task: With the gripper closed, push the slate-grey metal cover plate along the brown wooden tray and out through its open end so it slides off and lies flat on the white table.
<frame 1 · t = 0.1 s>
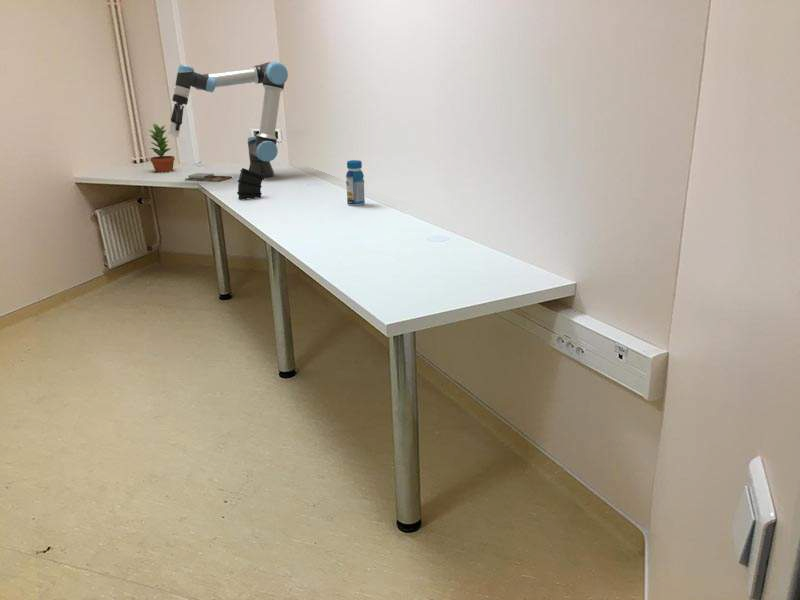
hand: (173, 135, 331), 28 cm above the table, tool tilted 20°, fingers open, 13 cm apart
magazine: (252, 198, 310), on the table
beverage bottle: (356, 204, 291), on the table
potted plant: (165, 171, 396), on the table
brown wooden tray: (208, 180, 359), on the table
cover plate: (201, 178, 360), point 1 cm above the table, touching brown wooden tray
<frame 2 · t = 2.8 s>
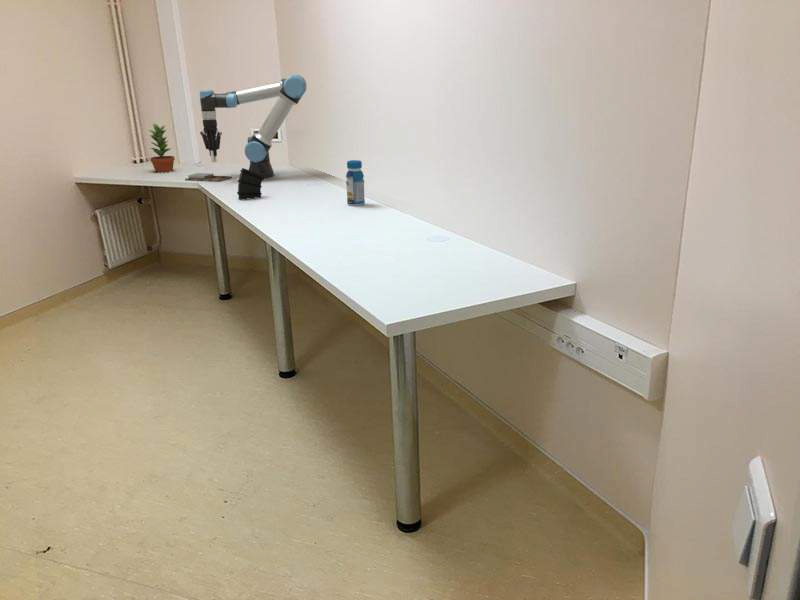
hand: (214, 162, 354), 11 cm above the table, tool pointing down, fingers closed
nothing on the table moved.
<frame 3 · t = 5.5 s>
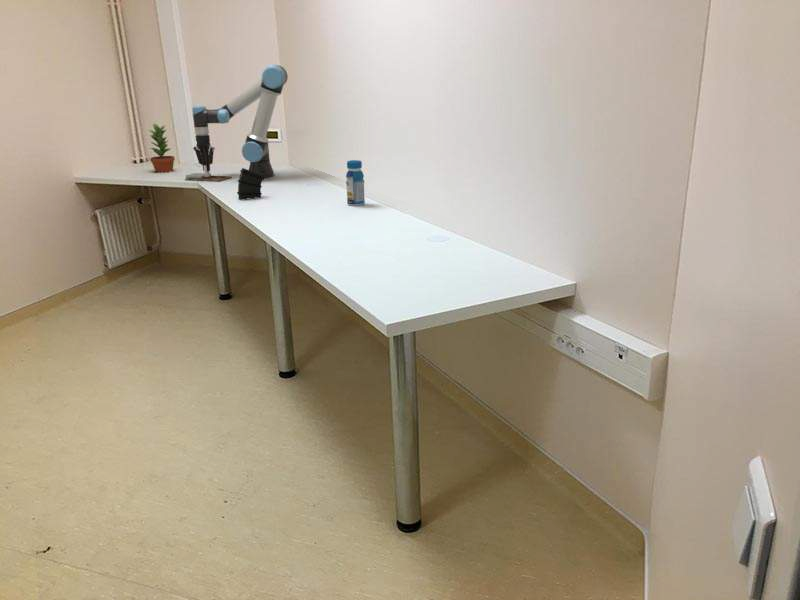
hand: (207, 176, 359), 3 cm above the table, tool pointing down, fingers closed
cover plate: (198, 178, 361), point 1 cm above the table, touching gripper, brown wooden tray
everything else where it was.
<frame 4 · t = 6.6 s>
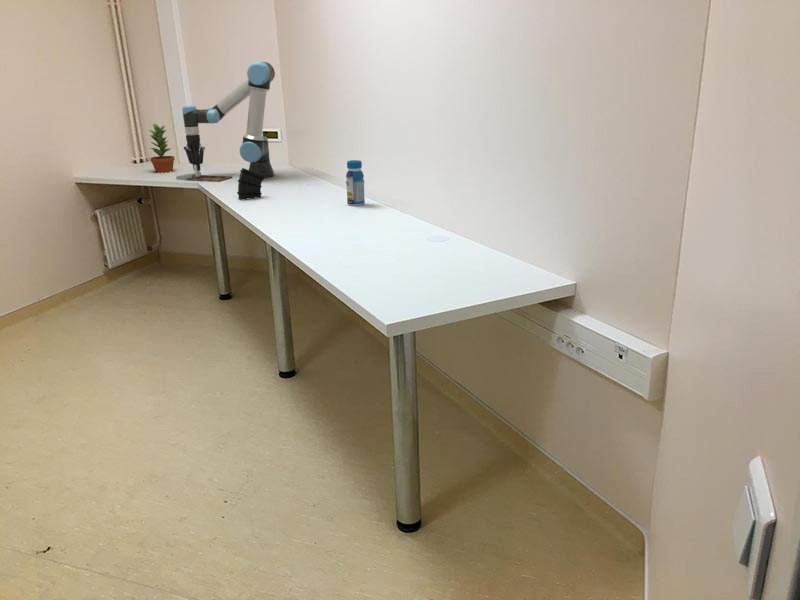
hand: (197, 176, 360), 3 cm above the table, tool pointing down, fingers closed
cover plate: (189, 178, 363), point 1 cm above the table, tilted 8°, touching brown wooden tray
everything else where it was.
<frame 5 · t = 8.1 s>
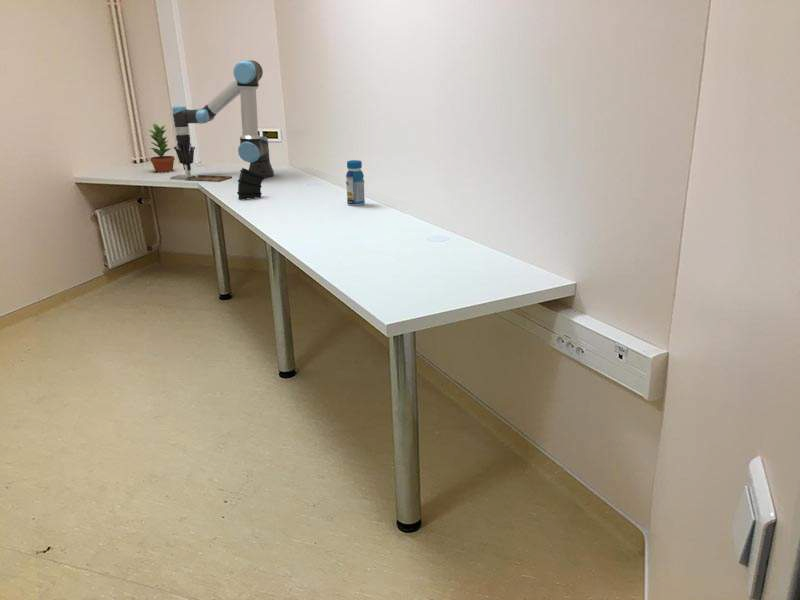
hand: (188, 175, 363), 2 cm above the table, tool pointing down, fingers closed
cover plate: (183, 180, 365), on the table
everything else where it was.
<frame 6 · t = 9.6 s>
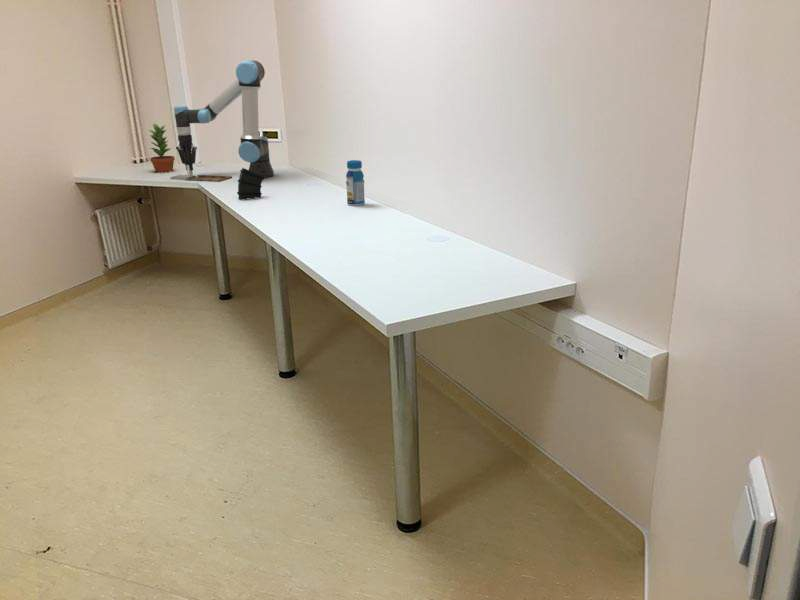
hand: (190, 175, 362), 2 cm above the table, tool pointing down, fingers closed
nothing on the table moved.
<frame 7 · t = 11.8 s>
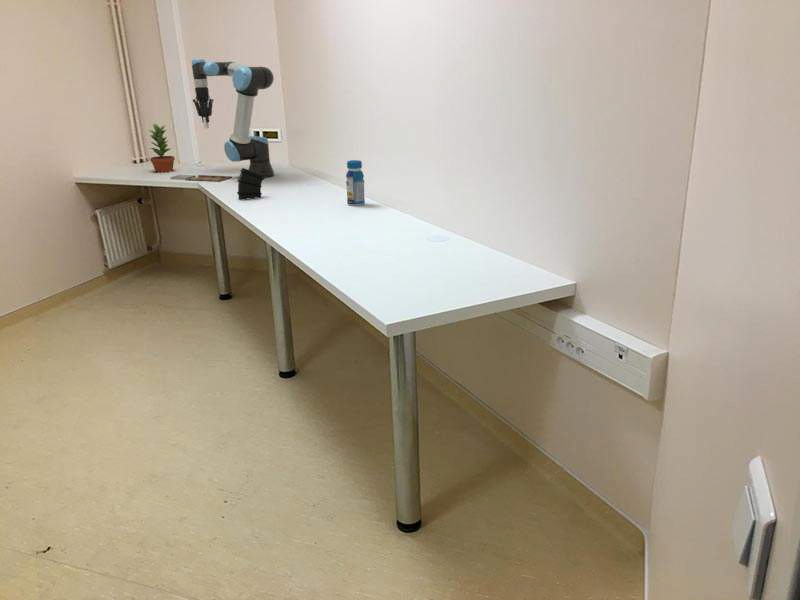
hand: (206, 128, 374), 27 cm above the table, tool pointing down, fingers closed
nothing on the table moved.
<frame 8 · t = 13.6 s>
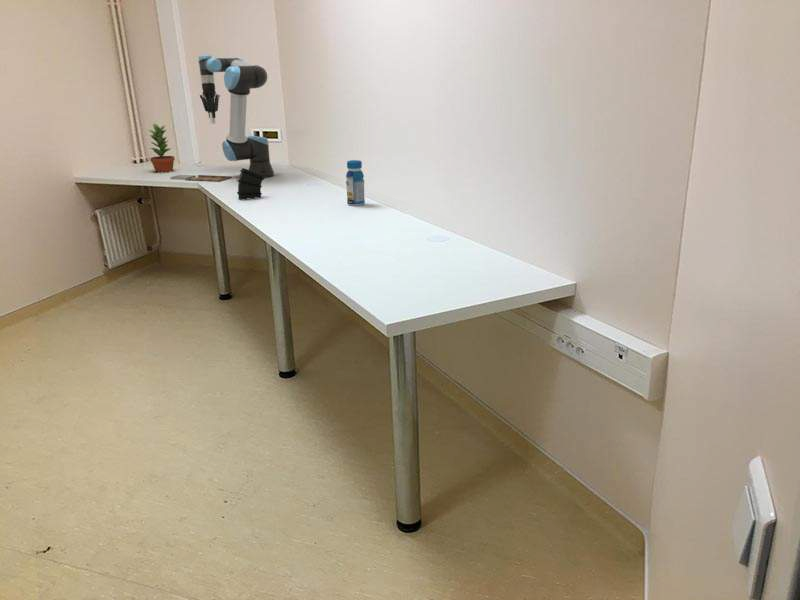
hand: (213, 123, 380), 29 cm above the table, tool pointing down, fingers closed
nothing on the table moved.
at the end: cover plate touching table; cover plate inside the target area (5.8 cm from its centre), on the table; cover plate tilted 0° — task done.
